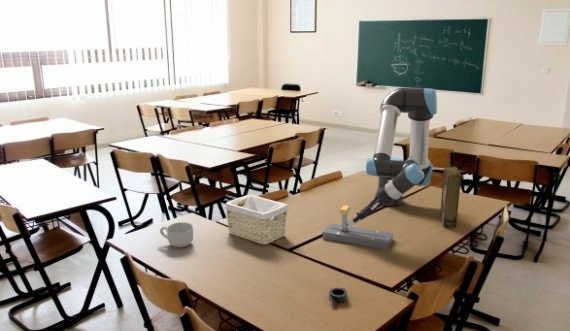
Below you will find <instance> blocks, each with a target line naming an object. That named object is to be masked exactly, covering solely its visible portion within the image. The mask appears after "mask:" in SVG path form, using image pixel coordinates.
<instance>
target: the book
mask: <svg viewBox="0 0 570 331" xmlns="http://www.w3.org/2000/svg"><path fill="white" fill-rule="evenodd" d="M443 167H444V168H443V178H442V190H441V191H442V192H441V200H440V202H441V203H440V211H439V217H440V221H441V224H442V227H443V228H444V227H446V228H447V227H451V228H454V229H455V228H457V224H458V223H457V221H458V212H459V202H460V193H461V192H460V191H461V181H462V174H461V173H460V171H459V169H458V167H457V166H453V165H452V166H448V165H445V166H443Z"/></svg>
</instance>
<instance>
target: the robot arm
mask: <svg viewBox="0 0 570 331" xmlns="http://www.w3.org/2000/svg"><path fill="white" fill-rule="evenodd" d="M401 113H403V114H407V117H408V119H409V120H410V134H409V135H410V136H409V137H410V138H409V157H408V158H406V160H403V158H402V157H392V153H393V152H392V151H393V147H394V141H395V137H396V136H395V135H396V130H397V129H396V128H397V123H398V118H399V117H401ZM437 113H438V98H437V92H436V90H435V89H434V88H427V87H424V88H423V87H398V88H395V89H393V90H392V91H389V93H388V94H387V95H386V96H385V97H384V99H383V100H382V102H381V104H380V106H379V114H380V119H379V124H378V129H377V136H376V140H375V145H374V150H373V154H372V155H373V157H369V158H367V159H366V165H365V173H366V175H368V176H372V177H376V178H377V177H378V180H377V181H378V184H377V189H376V191H375V194H374V196H373V197H374V198H373V200H371V201H370V203H369V204H367V205H366V206H365V207H364V208H362V209H361V210H360V211H359V212H356V215H354V216H353V217H352V218H350V219H349V220H347V226H350V228H351V227H355V225H356V224H357V223H359V222H360V221H362V220H364V219H365V218H366V217H368V216H369V215H370V214H372V213H373V212H375V211H377V209H380V208H381V207H382V206H385V207H398V206H401V205H403V204H404V196H403V195H405V194H406V193H407V192H408V191H409V190H411V189H412V188H413V187H415V186H418V187H428V186H430V185H429V184H430V182H431V178H432V174H433V168H434V164H432V163H431V161H430V159H429V158H428V154H429V153H428V152H429V151H428V150H429V136H430V122H431V120H432V119H433V118H434V115H436V114H437Z"/></svg>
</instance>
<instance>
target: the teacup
mask: <svg viewBox="0 0 570 331" xmlns="http://www.w3.org/2000/svg"><path fill="white" fill-rule="evenodd" d="M164 230H165V231H166V233H167V234H166V233H164ZM159 233H160V234H161V236H162V237H164V238H165V239H166V240H167V241H168V243H169V244H170V245H171V246H172V247H174V248H178V249H179V248H186V247H189V245H190V244H191V243H192V242H193V240H194V225H193V224H192V223H190V222H186V221H185V222H183V221H182V222H179V221H178V222H174V223H172V224H170V225H168V226H162V227H161V228H160V230H159Z"/></svg>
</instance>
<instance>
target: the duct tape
mask: <svg viewBox="0 0 570 331" xmlns="http://www.w3.org/2000/svg"><path fill="white" fill-rule="evenodd" d="M328 294H329V295H328V296H329V297H328V300H329V302H330V304H331V305H332V306H338V305H342V304H341V303H343V304H345V303H346V302H347V301H348V291H347V290H346V289H345V288H344V287H333V288H330V289H329V293H328ZM344 302H345V303H344Z"/></svg>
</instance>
